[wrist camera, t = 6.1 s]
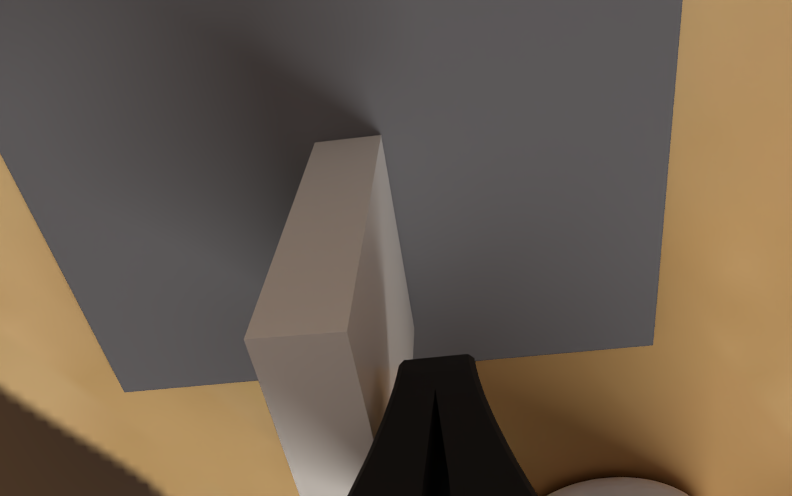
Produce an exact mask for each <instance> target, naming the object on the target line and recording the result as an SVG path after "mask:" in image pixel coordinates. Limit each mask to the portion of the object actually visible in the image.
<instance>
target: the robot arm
mask: <svg viewBox="0 0 792 496" xmlns="http://www.w3.org/2000/svg"><path fill="white" fill-rule="evenodd" d="M347 496H538V495H537V494H536V492H535V490H534V489H533V487H532V486H531V484H530V482H529V481H528V479H527V477H526V476H525V474H524V472H523V470H522V469H521V467H520V465H519V464H518V462H517V460H516V458H515V457H514V455H513V453H512V451H511V449H510V447H509V446H508V444H507V442H506V440H505V438H504V436H503V434H502V432H501V430H500V428H499V426H498V424H497V422H496V420H495V417H494V415H493V413H492V411H491V409H490V406H489V404H488V401H487V399H486V396H485V394H484V391H483V389H482V386H481V383H480V380H479V377H478V373H477V369H476V365H475V358H474V357H472V356H471V355H469V354H461V355H451V356H441V357H430V358H420V359H410V360H404V361H403V362H402V363H401V364H400V365H399V367H398V371H397V376H396V379H395V383H394V386H393V390H392V393H391V396H390V399H389V402H388V405H387V407H386V410H385V413H384V416H383V418H382V421H381V423H380V426H379V428H378V431H377V433H376V435H375V438H374V440H373V443H372V445H371V447H370V450H369V452H368V454H367V457H366V459H365V461H364V463H363V465H362V467H361V469H360V471H359V473H358V475H357V477H356V479H355V481H354V483H353V485H352V487H351V489H350V491H349V493H348V495H347Z"/></svg>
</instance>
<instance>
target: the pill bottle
mask: <svg viewBox="0 0 792 496" xmlns="http://www.w3.org/2000/svg"><path fill="white" fill-rule="evenodd" d="M547 496H689V495H688V494H686V493H684V492H682V491H680V490H678V489H676V488H674V487H672V486H669V485H667V484H664V483H660V482H657V481H653V480H648V479H642V478H631V477H610V478H600V479H593V480H588V481H584V482H579V483H576V484H572V485H569V486H567V487H564V488H562V489H559V490H557V491H555V492H553V493H551V494H549V495H547Z"/></svg>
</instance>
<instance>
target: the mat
mask: <svg viewBox="0 0 792 496" xmlns="http://www.w3.org/2000/svg"><path fill="white" fill-rule="evenodd" d="M681 12H682V0H0V154H1V155H2V157H3V159H4V161H5V163H6V165H7V167H8V169H9V171H10V173H11V175H12V177H13V179H14V180H15V182H16V184H17V186H18V188H19V190H20V192H21V194H22V196H23V198H24V200H25V202H26V204H27V206H28V207H29V209H30V211H31V213H32V215H33V217H34V219H35V221H36V223H37V225H38V227H39V229H40V231H41V232H42V234H43V236H44V238H45V240H46V242H47V244H48V246H49V248H50V250H51V252H52V254H53V256H54V258H55V259H56V261H57V263H58V265H59V267H60V269H61V271H62V273H63V275H64V277H65V279H66V281H67V283H68V284H69V286H70V288H71V290H72V292H73V294H74V296H75V298H76V300H77V302H78V304H79V306H80V308H81V310H82V311H83V313H84V315H85V317H86V319H87V321H88V323H89V325H90V327H91V329H92V331H93V333H94V335H95V336H96V338H97V340H98V342H99V344H100V346H101V348H102V350H103V352H104V354H105V356H106V358H107V360H108V362H109V363H110V365H111V367H112V369H113V371H114V373H115V375H116V377H117V379H118V381H119V383H120V385H121V387H122V388H123V390H124V392H134V391H145V390H156V389H167V388H178V387H190V386H201V385H212V384H223V383H234V382H246V381H257V380H258V378H257V375H256V372H255V369H254V367H253V364H252V361H251V358H250V356H249V353H248V350H247V347H246V344H245V342H244V337H245V334H246V332H247V329H248V326H249V323H250V321H251V318H252V315H253V312H254V310H255V307H256V304H257V301H258V299H259V296H260V293H261V290H262V287H263V285H264V282H265V279H266V276H267V274H268V271H269V268H270V265H271V263H272V260H273V257H274V254H275V252H276V249H277V246H278V243H279V240H280V238H281V235H282V232H283V229H284V227H285V224H286V221H287V218H288V216H289V213H290V210H291V207H292V205H293V202H294V199H295V196H296V193H297V191H298V188H299V185H300V182H301V180H302V177H303V174H304V171H305V169H306V166H307V163H308V160H309V157H310V155H311V152H312V149H313V146H314V144H315V142H323V141H332V140H341V139H349V138H358V137H367V136H376V135H381V137H382V143H383V149H384V155H385V161H386V166H387V172H388V178H389V184H390V190H391V195H392V201H393V207H394V213H395V219H396V225H397V230H398V236H399V242H400V248H401V254H402V259H403V265H404V271H405V277H406V283H407V288H408V294H409V300H410V306H411V312H412V317H413V323H414V347H413V359H420V358H430V357H441V356H451V355H461V354H469V355H471V356H472V357H474V358H475V361H481V360H492V359H503V358H515V357H526V356H537V355H548V354H559V353H571V352H582V351H593V350H604V349H616V348H627V347H638V346H649V345H653V339H654V327H655V315H656V304H657V292H658V280H659V269H660V257H661V245H662V234H663V222H664V210H665V199H666V187H667V175H668V164H669V152H670V140H671V129H672V117H673V105H674V94H675V82H676V70H677V59H678V47H679V35H680V24H681Z"/></svg>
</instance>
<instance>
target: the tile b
mask: <svg viewBox="0 0 792 496" xmlns="http://www.w3.org/2000/svg"><path fill="white" fill-rule="evenodd" d="M244 342H245V344H246V347H247V350H248V353H249V356H250V358H251V361H252V364H253V367H254V369H255V372H256V375H257V378H258V381H259V383H260V386H261V389H262V392H263V394H264V397H265V400H266V403H267V406H268V408H269V411H270V414H271V417H272V419H273V422H274V425H275V428H276V431H277V433H278V436H279V439H280V442H281V445H282V447H283V450H284V453H285V456H286V458H287V461H288V464H289V467H290V470H291V472H292V475H293V478H294V481H295V483H296V486H297V489H298V492H299V495H300V496H347V495H348V493H349V491H350V489H351V487H352V485H353V483H354V481H355V479H356V477H357V475H358V473H359V471H360V469H361V467H362V465H363V463H364V461H365V459H366V457H367V454H368V452H369V450H370V447H371V445H372V443H373V440H374V438H375V435H376V433H377V431H378V428H379V426H380V423H381V421H382V418H383V416H384V413H385V410H386V407H387V405H388V402H389V399H390V396H391V393H392V390H393V386H394V383H395V379H396V376H397V371H398V367H399V365H400V364H401V363H402V362H403V361H404V360H410V359H413V347H414V323H413V317H412V312H411V306H410V300H409V294H408V288H407V283H406V277H405V271H404V265H403V259H402V254H401V248H400V242H399V236H398V230H397V225H396V219H395V213H394V207H393V201H392V195H391V190H390V184H389V178H388V172H387V166H386V161H385V155H384V149H383V143H382V137H381V135H376V136H367V137H358V138H349V139H341V140H332V141H323V142H315V144H314V146H313V149H312V152H311V155H310V157H309V160H308V163H307V166H306V169H305V171H304V174H303V177H302V180H301V182H300V185H299V188H298V191H297V193H296V196H295V199H294V202H293V205H292V207H291V210H290V213H289V216H288V218H287V221H286V224H285V227H284V229H283V232H282V235H281V238H280V240H279V243H278V246H277V249H276V252H275V254H274V257H273V260H272V263H271V265H270V268H269V271H268V274H267V276H266V279H265V282H264V285H263V287H262V290H261V293H260V296H259V299H258V301H257V304H256V307H255V310H254V312H253V315H252V318H251V321H250V323H249V326H248V329H247V332H246V334H245V337H244Z"/></svg>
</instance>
